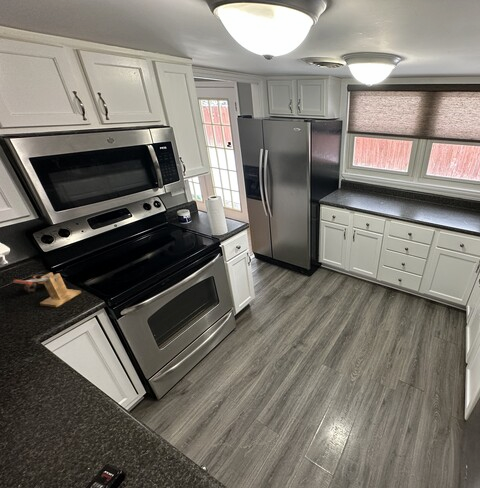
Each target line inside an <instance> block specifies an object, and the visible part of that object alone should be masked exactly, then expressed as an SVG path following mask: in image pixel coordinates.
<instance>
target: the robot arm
mask: <svg viewBox="0 0 480 488" xmlns="http://www.w3.org/2000/svg"><path fill="white" fill-rule="evenodd" d="M10 252H11V248H10V247H9V246H7V245H5V244H4V243H1V242H0V260H1V261H0V265H2V266H3V267H4V266H6V265H9V262H8V260H6V256H8V255H9V254H10Z"/></svg>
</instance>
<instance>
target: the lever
mask: <svg viewBox="0 0 480 488" xmlns="http://www.w3.org/2000/svg"><path fill="white" fill-rule="evenodd" d="M53 275H54V274H53ZM53 275H52V276H53ZM49 277H51V276H47V277H46V278H37V279H33V280H30V279H26V280H23V279H13V281H12V282H13V284H21V285H26V284H27V285H31V284H32V282H38V281H45V280H46V281H49V279H48V278H49Z"/></svg>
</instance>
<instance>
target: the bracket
mask: <svg viewBox="0 0 480 488" xmlns="http://www.w3.org/2000/svg"><path fill="white" fill-rule="evenodd" d="M43 275H44V276H42V277H41V278H46V277H47V276H51V277H49V278H48V279H49V281H46V280H45V281H43V283H44V284H43V285H44V287H45V289H46V291H47V292H48V294H49V297H48V298H46V299H44V300H43V301H40V302H39V305H40V306H43V307H51V308H58V307H60V306H62V305H63V304H65V303H66V302H68V301H70V300H71V299H73V298H75V297H76V296H78V295H79V294H82V291H81V290H80V289H79V290H78V289H70V288H67V286H66V284H65V282H64V280H63V278H62V276H61V274H60V273H55V274H54V273H53V272H48V273H46V274H43ZM52 275H53V276H52ZM41 278H40V279H41Z"/></svg>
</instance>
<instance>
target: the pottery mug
mask: <svg viewBox="0 0 480 488" xmlns="http://www.w3.org/2000/svg"><path fill="white" fill-rule="evenodd" d="M44 275H45V274H43V273H42V274H41V273H40V274H39V273H38V274H35V275H33V276H32V277H31V278H30V279H29V280H33V279H41V277H42V276H44ZM37 284H39V285H40V284H41V285H44V283H43V281H38V282H32V284H31V285H27V284H24V287H23V290H24V291H26V292H27V293H34V292H36V287H37Z"/></svg>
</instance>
